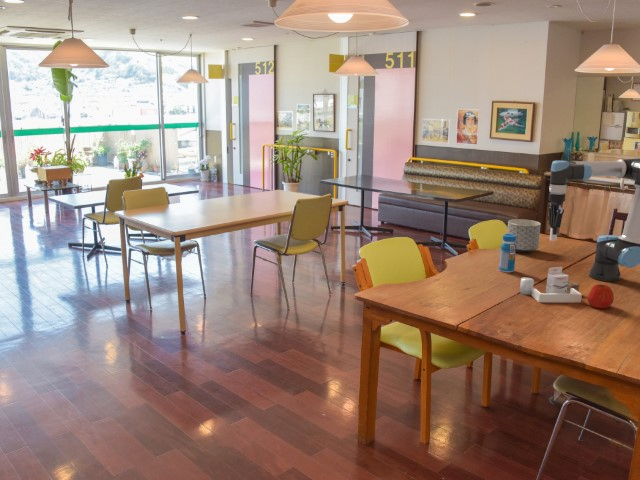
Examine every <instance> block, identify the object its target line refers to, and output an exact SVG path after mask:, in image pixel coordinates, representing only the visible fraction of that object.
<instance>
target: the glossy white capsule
mask: <svg viewBox="0 0 640 480" xmlns="http://www.w3.org/2000/svg"><path fill="white" fill-rule="evenodd" d="M534 281H535V279H534V278H531V277H526V276H525V277H521V278H520V285H519V286H520V287H519V294H521V295H523V296H524V295H525V296H526V295H527V296H532V288H534V284H535V282H534Z"/></svg>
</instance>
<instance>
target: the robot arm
mask: <svg viewBox="0 0 640 480" xmlns="http://www.w3.org/2000/svg"><path fill="white" fill-rule="evenodd" d="M591 177H616V179H627V180H631V181H634V183H633V186H634V188H635V191H634V195H633V199H632V201H631V205H630V208H629V211H628V215H627V217H626V221H625V224H624V227H623V230H622V234H621V235H613V234H604V235H603V234H602V235H599V236H598V237H597V239H596V245H595V247H596V249H595V255H594V261H593V262H594V263H593V264H592V266H591V268H590V271H589V273H588V275H589V278H591V279H593V280H597V281H600V282H601V281H603V282H611V283H612V282H619V281H620V280H621V271H620V267H625V268H627V269H632V268H636V267H637V266H639V265H640V157H636V158H625V159H621V158H620V159H617V160H616V161H609V160H608V161H599V160H598V161H597V160H596V161H568V160H553V161H552V163H551V167H550V179H549V186H548V188H549V193H548V202H550V204H548V205H547V209H548V225H549V227H550V232H549V233H550V234H549V241H550V242H557V236H558V229H560V228H561V225H562V220H563V214H564V213H565V209H564V208H562V207H563V204H562V203H563V202H565V201H566V197H567V196H566V195H567V194H566V192H567V183H568V181H587V180H590V179H591Z"/></svg>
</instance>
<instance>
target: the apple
mask: <svg viewBox="0 0 640 480" xmlns="http://www.w3.org/2000/svg"><path fill="white" fill-rule="evenodd" d="M614 297H615V296H614V292H613V290H612V288H611V287H610V286H609V285H607V284H599V283H598V284H595V285H594V286H592V287H591V289H590V290H589V293H588V295H587V302H588V304H589V306H590V307H592V308H595V309H607V308H609V307H611V306H612V304H613V302H614V300H615V298H614Z"/></svg>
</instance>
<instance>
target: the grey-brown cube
mask: <svg viewBox="0 0 640 480" xmlns="http://www.w3.org/2000/svg"><path fill="white" fill-rule="evenodd" d="M571 288H574V289H575V290H577V291H578V292H580V291H579V290H580V284H578V283H576V282H574V281H568V284H567V292H566V293H570V291H571Z"/></svg>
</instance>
